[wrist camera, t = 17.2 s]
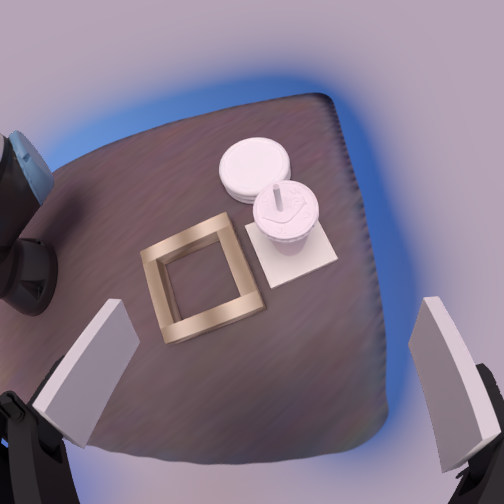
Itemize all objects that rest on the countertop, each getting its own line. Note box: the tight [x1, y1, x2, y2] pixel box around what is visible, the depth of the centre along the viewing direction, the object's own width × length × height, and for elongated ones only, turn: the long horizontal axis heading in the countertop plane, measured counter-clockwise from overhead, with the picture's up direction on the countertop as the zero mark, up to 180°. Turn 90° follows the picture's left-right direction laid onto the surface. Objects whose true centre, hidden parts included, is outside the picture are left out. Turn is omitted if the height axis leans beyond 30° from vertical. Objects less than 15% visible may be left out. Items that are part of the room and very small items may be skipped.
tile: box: [245, 221, 338, 289], centre depth 36 cm, size 9×9×1 cm
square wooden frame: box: [140, 212, 267, 344], centre depth 36 cm, size 13×13×3 cm
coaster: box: [219, 138, 291, 204], centre depth 39 cm, size 10×10×4 cm
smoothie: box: [253, 180, 319, 256], centre depth 29 cm, size 6×6×14 cm
